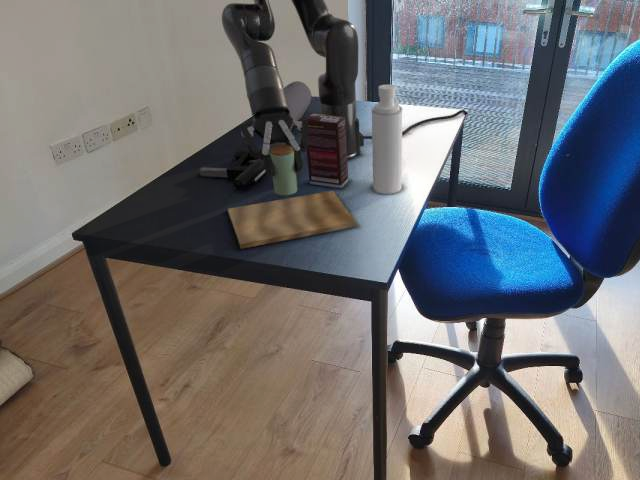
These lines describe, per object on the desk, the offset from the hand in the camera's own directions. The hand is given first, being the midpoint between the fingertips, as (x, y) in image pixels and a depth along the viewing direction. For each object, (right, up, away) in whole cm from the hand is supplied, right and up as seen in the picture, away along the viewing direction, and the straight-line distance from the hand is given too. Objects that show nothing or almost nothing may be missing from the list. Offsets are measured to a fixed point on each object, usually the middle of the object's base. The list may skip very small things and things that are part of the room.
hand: (285, 172), depth 111 cm
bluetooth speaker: (-9, +27, +57) cm, 64 cm away
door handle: (-17, +6, +29) cm, 34 cm away
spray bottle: (+20, +1, +21) cm, 29 cm away
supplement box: (+6, +2, +23) cm, 24 cm away
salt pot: (-1, -3, +4) cm, 5 cm away
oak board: (0, -8, +8) cm, 12 cm away
